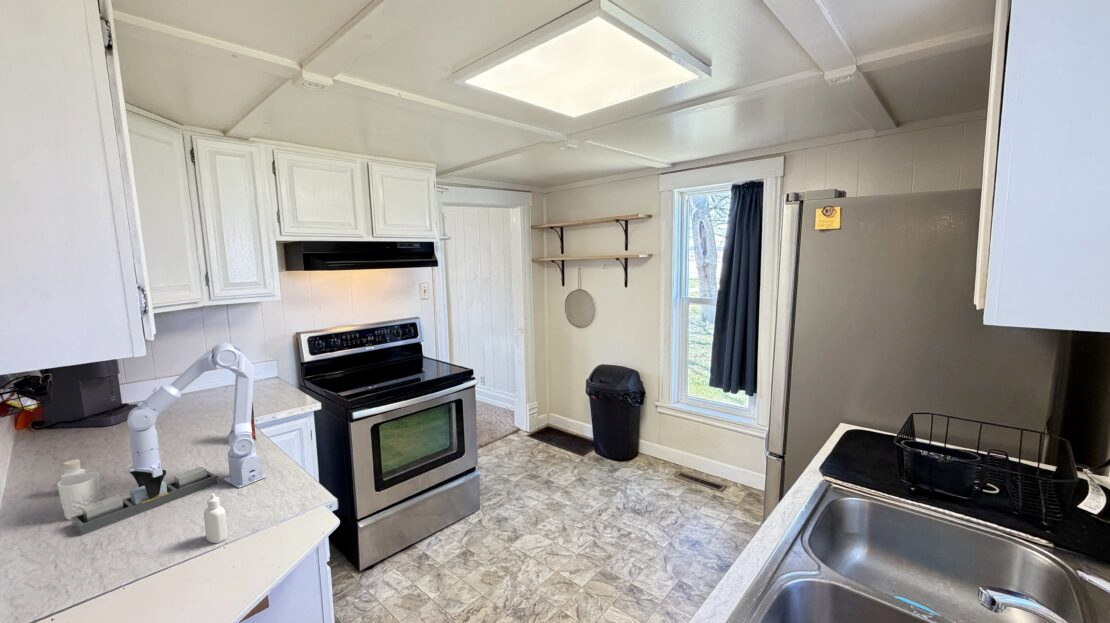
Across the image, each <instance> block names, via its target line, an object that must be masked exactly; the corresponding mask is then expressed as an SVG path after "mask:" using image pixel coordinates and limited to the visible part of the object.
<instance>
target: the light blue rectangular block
mask: <svg viewBox="0 0 1110 623" xmlns="http://www.w3.org/2000/svg"><path fill="white" fill-rule="evenodd" d="M166 484H167V483H166V482H165V481H164V480H162V484H161V488H160V493H159V495H161V494H164V493H167V486H166ZM129 495H130V496H129V497H131V504H133V505H135V504H138V503H141V502H142V501H145V500H147V499H150V498H149V496H148V494H147V491H146V488H145V486H142V487H139V486H138V487H136V488H133V489H131V490H129ZM155 497H156V496H155ZM152 498H153V497H152Z"/></svg>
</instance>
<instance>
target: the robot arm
mask: <svg viewBox="0 0 1110 623" xmlns="http://www.w3.org/2000/svg"><path fill="white" fill-rule="evenodd" d="M217 366H218V367H220V368H223V369H227V370H229V371H231V372H232V373H233V374H234V375H235V380H234V382H235V383H234V396H233V398H234V400H233V414H232V423H231V426H230V427H231V428H230V429H231V430H230V432H229V433H228V435H227V438H226V440H227V441H226V442H227V443H228V445H229V448H230V449H229V450H228V452H227V459H228V473H229V476H228V477H224V479H223V481H225V482H227V483H229V484H231V485H232V486H234V487H236V488H239V489H240V488H243V487H245V486H248V485H251V484H253V483H255V482H258V481H260V480H263V479H265V478H267V476H266V475H265V474H264V473H263V464H262V459H261V457H259V456H258V455H257V453H256V452H257V450H256V440H255V441H254V439H253V438H252V427H251V415H252V402H253V400H254V399H253V396H254V382H255V380H254V379H255V367H254V366H253V364H252V363H251V362H250V361H249V359H248V358H247V357H246V355H244V353H243V352H242V351H241V350H240V348H238V347H237V346H235V345H234V344H232V343H229V342H226V341H225V342H219V343H217V344H215V345H214V346H213V347H212V348H211V349H208V350H207V351H206V352H204V353H203V354H202V355H201V356H200V357H198V359H196V360H195V361H194V362H193V363H192V364H191V365H190V366H189V367H187V369H186V370H185V371H183V372H182V373H181V374H180V375H179V376H178V377H177V378H176V379H175V380H174V381H172V382H171V383H169V384H163V385H161V386H159V387H155V388H154V389H153V390H152V393H151V394H150V395H149V396H148V397H147V398H146V399H145V400H143V401H140V402H138V403H137V406H136V407H134V408H132V409H131V410H130V411H129V413H128V414H127V420H126V421H127V422H126V423H127V427H128V428H129V434H130V435H129V442H130V443H129V444H130V450H131V451H130V453H131V460H132V464H131V466H130V467H129V466H128V467H127V468H126V469H127V471H128V473H129V474H131V476H132V477H133V479H134V480H135V482H136V483H137V486H138V488H139V487H142V486H145V488H146V491H147V494H148V496H149V498H152V497H155V496H158V495H159V493H160V488H161V484H162V481H164V478H165V476H166V475H167V470H165V469H163V467H162V459H161V456H160V447H159V438H158V431H157V428H156V423H157V418H158V417H160V416H162V415H163V414H164V413H165V412H166V411H167V410H169V409H170V408H172V406H174V404H175V403H176V402H178V400H180V399H181V398H182V391H183V390H185V389H186V388H187V387H188V386H190V384H192V383H193V382H195V381H196V380H197V379H198V378H199V377H200V376H202V375H203V374H204V373H205V372H208V371H209V372H210V371H214V370H215V371H216V370H218V367H217Z"/></svg>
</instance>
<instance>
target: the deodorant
mask: <svg viewBox="0 0 1110 623" xmlns="http://www.w3.org/2000/svg"><path fill="white" fill-rule="evenodd" d="M251 427H252V438H253V439H254V441H255V442H256V441H257V440H256V439H257V438H256V436H257V435H256V425H255V414H254V402H253V401H252V415H251Z"/></svg>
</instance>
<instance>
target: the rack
mask: <svg viewBox="0 0 1110 623" xmlns="http://www.w3.org/2000/svg"><path fill="white" fill-rule="evenodd" d="M215 484H216V485H218V484H219V483H218V475H215V474H214V473H212V472H211V471H209V470H208V469H207V468H204V467H203V466H198V467H196V468H194V469H189V470H187V471H184V472H181V473H179V474H175V475H173V481H172V482H167V483H166V486H167V493H164V494H161V495H158V496H156V497H153V498H150V499H147V500H145V501H142V502H141V503H138V504H135V505H133V504H131V497H130V496H129V497H126V498H122V497H121V496H120V495H118V494H116V495H113V496H111V497H108V498H105V499H102V500H100V501H99V502H96V503H93V504H90V505H87V506H84V507H82V512H83V514H80V515H77V516H74V517H71V520H70V521H71V525H72V526H71V527H72V528H73V529H74V531H76V532H77V533H78V534H79V535H81V536H83V535H84V536H85V535H87V534H89V533H92V532H94V531H96V530H99V529H102V528H105V527H107V526H110V525H113V524H115V523H119V522H121V521H123V519H124V520H126V519H128V518H131V517H134V516H136V515H139V514H141V513H144V512H147V511H150V510H152V509H155V508H157V507H160V506H162V505H166V504H168V503H171V502H173V500H174V501H176V500H178V499H181V498H184V497H186V495H187V496H189V495H191V494H194V493H195V494H196V493H197V492H199V491H202V490H204V489H207V487H208V488H210V487H213V486H216V485H215ZM212 485H213V486H212ZM170 501H171V502H170ZM165 503H166V504H165Z"/></svg>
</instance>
